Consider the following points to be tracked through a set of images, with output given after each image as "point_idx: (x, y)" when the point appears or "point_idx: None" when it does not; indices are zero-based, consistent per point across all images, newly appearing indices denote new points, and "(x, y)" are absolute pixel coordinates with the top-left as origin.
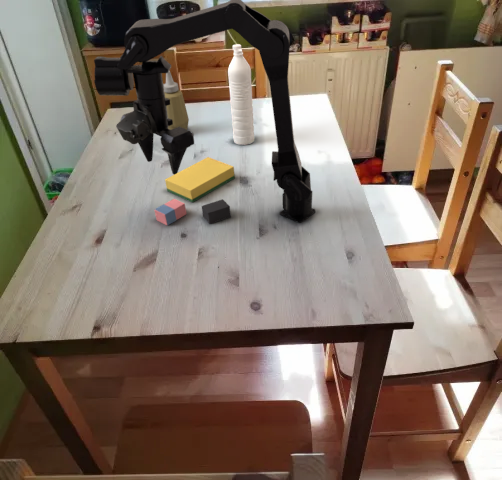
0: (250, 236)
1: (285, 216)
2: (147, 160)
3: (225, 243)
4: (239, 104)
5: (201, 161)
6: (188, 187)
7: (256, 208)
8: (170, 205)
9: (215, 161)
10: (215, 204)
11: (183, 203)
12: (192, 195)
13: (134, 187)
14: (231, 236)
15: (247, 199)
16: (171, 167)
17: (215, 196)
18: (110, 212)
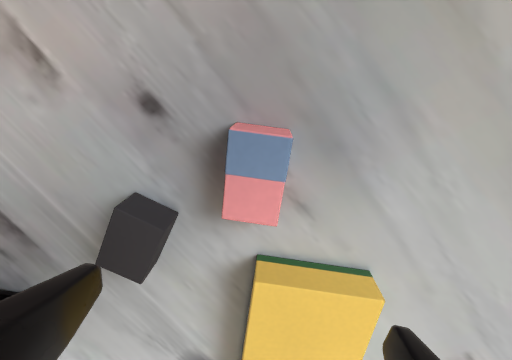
0: (9, 195)
1: (13, 293)
2: (408, 333)
3: (27, 137)
4: None
5: None
6: (274, 292)
7: (98, 296)
8: (256, 187)
9: None
10: (134, 254)
11: (225, 217)
12: (255, 271)
13: (494, 246)
14: (43, 172)
15: (145, 317)
16: (25, 302)
17: (223, 299)
18: (494, 82)
